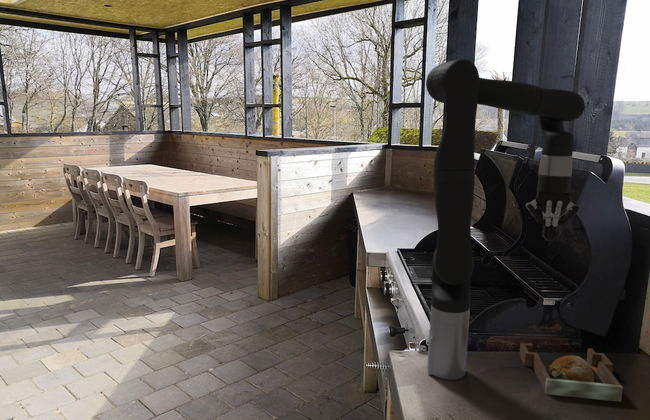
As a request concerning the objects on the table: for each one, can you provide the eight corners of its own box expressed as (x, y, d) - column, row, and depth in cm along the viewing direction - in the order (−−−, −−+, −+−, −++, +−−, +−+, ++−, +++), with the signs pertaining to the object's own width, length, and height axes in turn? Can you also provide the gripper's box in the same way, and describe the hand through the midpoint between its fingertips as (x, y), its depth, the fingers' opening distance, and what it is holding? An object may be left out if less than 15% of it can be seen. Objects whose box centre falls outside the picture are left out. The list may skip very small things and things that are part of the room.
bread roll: (588, 408, 113) (608, 382, 111) (547, 384, 115) (566, 358, 113) (579, 386, 123) (597, 361, 121) (541, 364, 125) (558, 340, 122)
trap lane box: (536, 393, 113) (538, 379, 112) (519, 354, 132) (520, 342, 131) (630, 402, 109) (632, 388, 109) (598, 361, 128) (600, 349, 127)
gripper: (530, 174, 120) (524, 242, 123) (588, 175, 118) (580, 244, 121) (524, 171, 128) (518, 235, 131) (578, 172, 125) (571, 237, 128)
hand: (548, 239), depth 126 cm, fingers closed
